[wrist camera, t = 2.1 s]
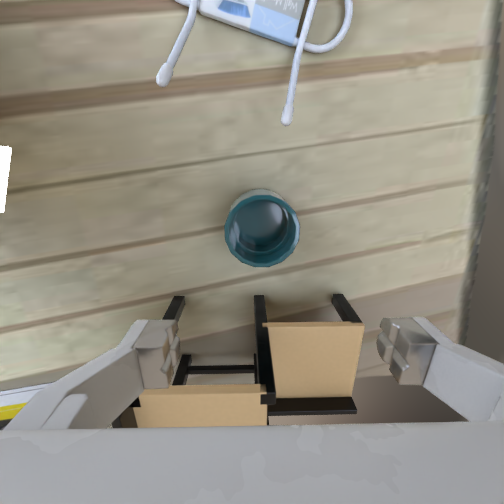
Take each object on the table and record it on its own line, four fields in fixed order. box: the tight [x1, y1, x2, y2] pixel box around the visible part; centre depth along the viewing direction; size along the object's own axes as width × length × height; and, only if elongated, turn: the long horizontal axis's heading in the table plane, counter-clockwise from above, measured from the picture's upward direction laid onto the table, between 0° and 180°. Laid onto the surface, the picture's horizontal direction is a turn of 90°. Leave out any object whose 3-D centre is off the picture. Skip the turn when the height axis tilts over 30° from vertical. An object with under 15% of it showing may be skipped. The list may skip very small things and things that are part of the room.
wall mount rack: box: [156, 0, 353, 126], centre depth 17 cm, size 16×14×6 cm
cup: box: [224, 189, 300, 267], centre depth 24 cm, size 7×7×5 cm
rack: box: [112, 294, 365, 428], centre depth 24 cm, size 10×20×15 cm, turn 90°
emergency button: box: [0, 383, 52, 430], centre depth 33 cm, size 9×4×15 cm
